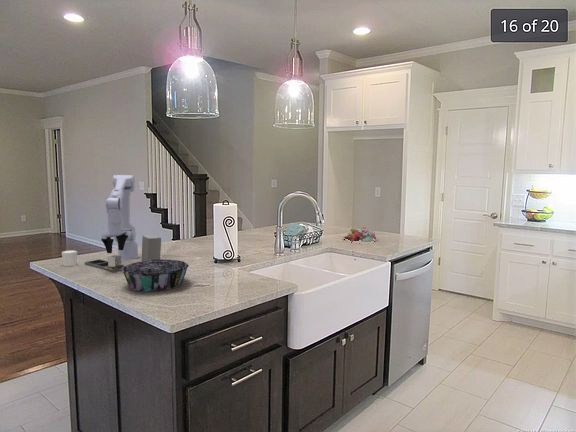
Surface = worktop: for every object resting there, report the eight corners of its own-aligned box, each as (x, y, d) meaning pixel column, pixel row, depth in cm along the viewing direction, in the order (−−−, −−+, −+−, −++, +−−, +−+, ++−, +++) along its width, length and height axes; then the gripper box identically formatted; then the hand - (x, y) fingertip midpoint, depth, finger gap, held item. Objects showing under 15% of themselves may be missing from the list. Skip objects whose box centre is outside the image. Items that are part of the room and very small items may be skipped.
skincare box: (140, 267, 207) (140, 235, 205) (154, 265, 212) (154, 234, 210) (147, 270, 201) (147, 237, 199) (161, 268, 205) (161, 236, 203)
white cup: (60, 267, 202) (59, 253, 201) (63, 264, 209) (63, 250, 208) (76, 267, 204) (75, 252, 203) (79, 263, 210) (78, 249, 210)
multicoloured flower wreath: (338, 238, 304) (338, 225, 303) (367, 237, 311) (368, 225, 310) (353, 245, 281) (354, 231, 280) (384, 244, 288) (385, 230, 287)
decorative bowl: (200, 289, 181) (201, 266, 180) (140, 299, 160) (142, 273, 159) (166, 277, 197) (167, 256, 197) (108, 284, 176) (109, 261, 176)
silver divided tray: (99, 262, 215) (99, 259, 214) (128, 269, 202) (128, 266, 202) (84, 265, 208) (84, 261, 208) (113, 273, 195) (113, 269, 195)
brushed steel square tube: (114, 267, 203) (114, 254, 203) (121, 268, 202) (120, 255, 201) (108, 269, 200) (108, 256, 199) (115, 270, 198) (114, 257, 198)
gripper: (118, 220, 206) (119, 247, 208) (96, 224, 192) (96, 253, 194) (130, 221, 204) (131, 249, 205) (108, 225, 190) (109, 255, 192)
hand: (115, 251), depth 200 cm, fingers open, 7 cm apart
